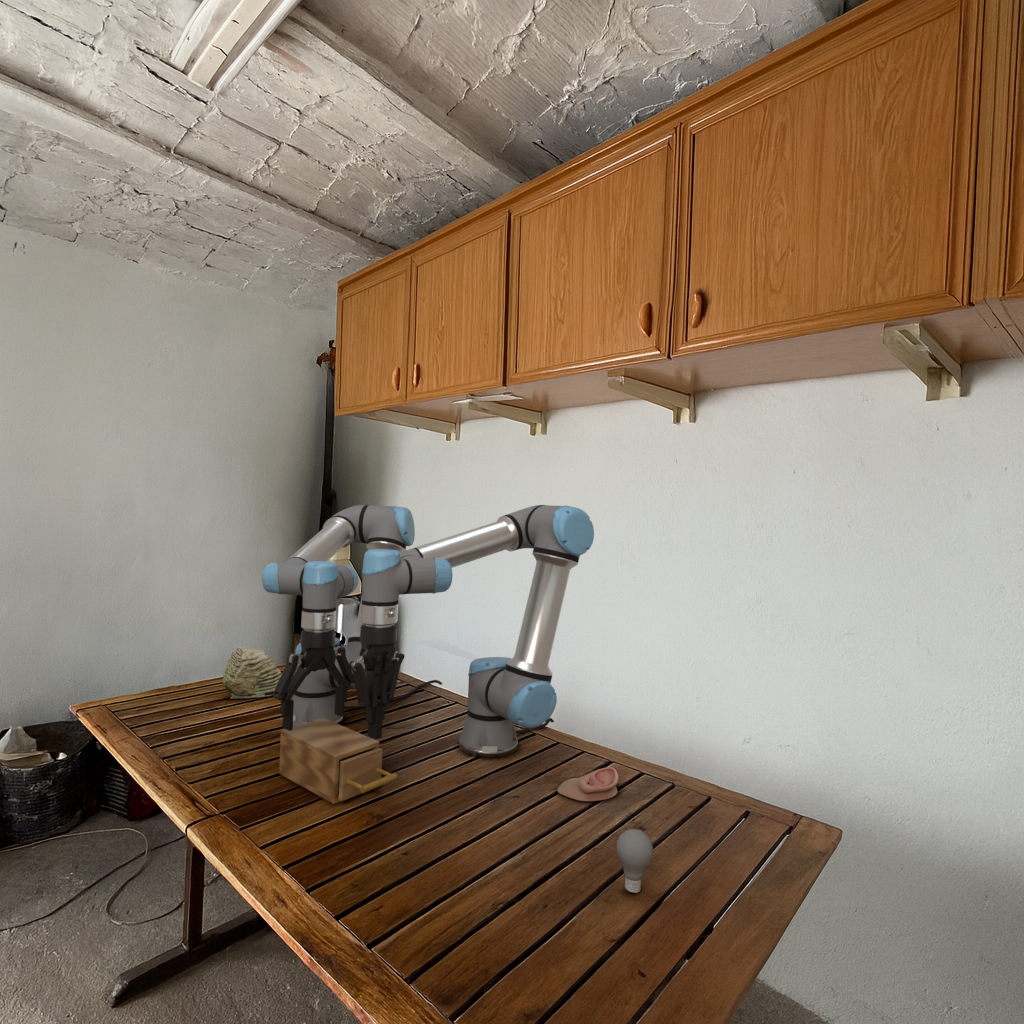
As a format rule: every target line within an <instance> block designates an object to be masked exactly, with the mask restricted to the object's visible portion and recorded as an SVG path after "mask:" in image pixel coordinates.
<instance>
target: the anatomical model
mask: <svg viewBox="0 0 1024 1024" xmlns="http://www.w3.org/2000/svg"><path fill="white" fill-rule="evenodd" d="M618 783H619V773H618V772H617V770H616V769H615V768H614V767H612V766H607V767H602V768H599V769H596V770H593V771H591V772H589V773H587V774H584V775H581V776H579V777H572V778H568V779H565V780H564V781H563V782H562V783H561V784H560V785H559V786H558V787H557V789H556V792H557V793H558V794H560V795H562V796H564V797H566V798H569V799H571V800H575V801H580V802H597V801H604V800H608V799H612V798H613V797H615V796H616V795H617V794H618V788H617V785H618Z"/></svg>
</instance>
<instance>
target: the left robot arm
mask: <svg viewBox="0 0 1024 1024" xmlns="http://www.w3.org/2000/svg"><path fill="white" fill-rule="evenodd" d="M414 521H415V520H414V516H413V514H412V512H411V510H410V509H409V508H408V507H405V506H397V505H394V506H393V505H371V504H370V505H368V504H357V505H353V506H349V507H346V508H345V509H343V510H340V511H338V512H336V513H335V514H334V515H332V516H331V517H329V518H328V519H327V520H326V521H325V522H324V524H323V526H322V528H321V530H320V531H318V532H317V533H316V534H315V535H314V536H313V537H311V538H310V539H309V540H308V541H307V542H306V543H304V544H303V545H302V546H301V547H300V548H299V549H298V550H296V551H295V552H294V553H293V554H292V555H290V556H289V558H288V559H286V560H285V561H284V562H270V563H268V564H267V565H266V566H265V567H264V569H263V571H262V575H261V582H262V587H263V589H264V591H265V592H266V593H270V594H276V595H277V594H278V595H291V596H302V607H301V623H300V627H301V629H302V630H301V631H300V642H299V643H298V644H297V645H296V647H295V652H294V653H291V652H290V653H288V654H287V658H286V664H285V666H284V668H283V671H282V672H281V673H282V675H281V677H280V679H279V681H278V684H277V686H276V688H275V690H274V692H273V695H272V698H274V699H276V700H279V701H280V708H279V709H280V711H279V712H280V715H282V729H283V730H284V729H286V730H288V731H291V730H293V727H294V726H298V725H301V724H305V723H308V722H312V721H316V720H319V719H323V718H325V719H327V720H330V721H332V722H334V723H337V724H339V725H342V723H343V722H344V717H345V711H346V710H357V709H364V708H366V707H365V706H362V705H360V704H358V705H357V704H356V705H346V701H347V700H348V690H356V687H355V681H354V675H353V671H352V669H351V668H350V666H349V663H350V662H351V661H355V660H356V659H357V658H358V657H360V656H359V653H360V651H361V648H362V645H361V642H360V628H361V626H362V625H363V623H362V622H361V603H362V597H361V599H360V602H359V603H360V604H359V608H358V609H359V610H358V614H357V620H356V625H355V630H354V632H353V633H352V634H350V635H349V636H348V637H347V643H346V644H341V641H340V639H339V638H338V637H336V630H335V628H336V626H337V625H336V623H337V622H336V621H337V603H338V599H340V598H344V597H345V598H346V597H348V596H349V595H350V594H352V593H353V592H355V591H356V589H357V587H358V585H359V575H358V572H357V571H356V569H354V568H353V567H351V566H349V565H341V564H339V565H338V563H337V562H335V561H330V560H331V559H332V558H333V557H334V556H335V555H336V554H337V553H338V552H339V551H340V550H341V549H343V548H347V547H348V546H349V545H351V544H366V545H365V548H366V549H367V551H368V550H372V549H388V550H397V551H399V552H402V551H405V550H407V547H411V546H413V544H414V542H415V537H416V536H415V533H416V531H415V530H416V529H415V522H414ZM364 666H365V664H364ZM364 670H365V668H364ZM365 674H366V673H365ZM430 684H438V685H441V686H442V685H443V682H442V681H440V680H438V679H432V680H428V681H426V682H424V683H421V684H419V685H417V686H415V687H414V688H413V689H411V690H410V691H408V692H407V693H404V694H401V695H398V696H394V698H393V700H389V701H388V703H390V702H395V701H398V700H402V699H405V698H407V697H409V696H410V695H412V694H414V693H415V692H416V691H418V690H419V689H420V688H423V687H425V686H428V685H430Z"/></svg>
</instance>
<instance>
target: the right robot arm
mask: <svg viewBox="0 0 1024 1024" xmlns="http://www.w3.org/2000/svg"><path fill="white" fill-rule="evenodd" d="M594 539H595V527H594V524H593V521H591V518H590V516H589V515H588V513H587V512H586V511H585V510H584V509H581V508H580V507H577V506H571V505H550V504H549V505H548V504H536V505H531V506H528V507H525V508H522V509H519V510H515V511H513V512H511V513H508V514H503V515H501V516H499V517H498V518H497V520H496V521H495V522H492V523H489V524H485V525H482V526H479V527H476V528H473V529H470V530H466V531H463V532H460V533H457V534H454V535H451V536H447V537H444V538H440V539H438V540H434V541H431V542H428V543H425V544H422V545H419V546H416V547H412V548H408V549H406V550H405V551H402V552H399V551H397V550H388V549H372V550H368V549H367V550H366V551H365V553H364V555H363V560H362V561H363V562H362V570H361V575H362V580H361V581H362V582H361V588H362V589H361V598H362V603H361V602H360V603H361V622H362V623H363V625H362V626H361V628H360V642H361V645H362V648H361V651H360V653H359V656H360V657H358V658H357V659H356V660H355V661H351V662H350V663H349V666H350V668H351V669H352V671H353V675H354V681H355V687H356V689H355V692H356V699H357V703H358V705H362V706H365V707H364V708H366V709H365V721H366V723H367V737H370V738H372V739H374V740H379V739H382V738H383V737H382V736H383V721H384V720H385V717H386V707H389V706H390V702H388V701H389V700H393V698H395V693H396V687H397V683H398V680H399V674H400V671H401V665H402V663H403V661H404V659H405V654H404V653H401V652H398V650H397V648H396V647H397V646H396V642H397V641H398V626H397V623H398V620H399V599H400V595H403V596H404V595H416V594H418V595H419V594H432V595H433V594H434V595H435V594H439V593H444V592H447V591H448V590H449V589H450V588H451V585H452V583H453V568H456V567H460V566H462V565H465V564H468V563H470V562H473V561H476V560H480V559H483V558H485V557H489V556H491V555H495V554H497V553H499V552H503V551H507V552H509V553H510V552H514V551H518V550H522V549H532V556H533V558H534V559H535V561H536V564H535V568H534V571H533V576H532V580H531V585H530V589H529V592H528V597H527V602H526V606H525V610H524V614H523V618H522V622H521V626H520V630H519V635H518V639H517V643H516V647H515V652H514V655H513V656H512V658H511V657H505V656H493V657H492V656H487V657H480V658H479V657H478V658H476V659H474V660H472V661H470V664H469V669H468V674H467V676H468V685H467V686H468V687H467V688H468V689H467V714H466V715H467V716H466V719H465V722H464V723H463V727H462V730H461V733H460V735H459V737H458V748H459V749H460V750H461V751H462V752H463V753H465V754H467V755H469V756H472V757H477V758H485V759H498V758H499V759H500V758H504V757H507V756H512V755H513V754H514V753H515V752H517V751H518V746H519V739H518V735H521V734H524V733H526V732H528V731H531V730H538V729H539V730H540V729H543V728H546V726H548V725H549V723H555V720H554V719H553V718H552V717H551V716H552V715H553V713H554V711H555V709H556V707H557V701H558V700H557V699H558V698H557V693H556V691H555V690H556V689H555V688H554V687H553V686H552V679H553V675H554V674H553V672H552V669H551V668H550V666H549V663H550V661H551V655H552V650H553V647H554V642H555V638H556V634H557V630H558V624H559V620H560V616H561V611H562V607H563V605H564V604H563V603H564V599H565V595H566V590H567V586H568V581H569V577H570V573H571V571H572V569H573V568H575V567H576V566H578V564H579V561H580V557H581V556H582V555H584V554H586V553H587V551H589V550H590V549H591V547H592V545H593V542H594ZM364 664H365V666H364ZM364 668H365V670H364ZM365 673H366V674H365ZM515 726H519V727H522V728H523V729H519V730H518V729H517V730H516V727H515Z"/></svg>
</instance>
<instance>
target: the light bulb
mask: <svg viewBox="0 0 1024 1024" xmlns="http://www.w3.org/2000/svg"><path fill="white" fill-rule="evenodd" d="M615 849H616V854H617V857H618V859H619V861H620V863H621V865H622V867H623V873H624V874H623V875H624V876H625V878H624V888H625V890H627V891H628V892H630V893H634V894H635V893H639V892H640V891H641V889H642V887H641V886H642V879H643V877H644V875H645V871H646V868H647V867H648V866H649V864H650V863H651V861H652V859H653V855H654V847H653V843H652V841H651V838H649V836H648V835H647V834H646V833H645V832H643V831H642V830H641V829H636V828H629V829H627V830H625V831H623V832H622V833H621V834H620V835H619V837H618V839H617V841H616V847H615Z"/></svg>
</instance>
